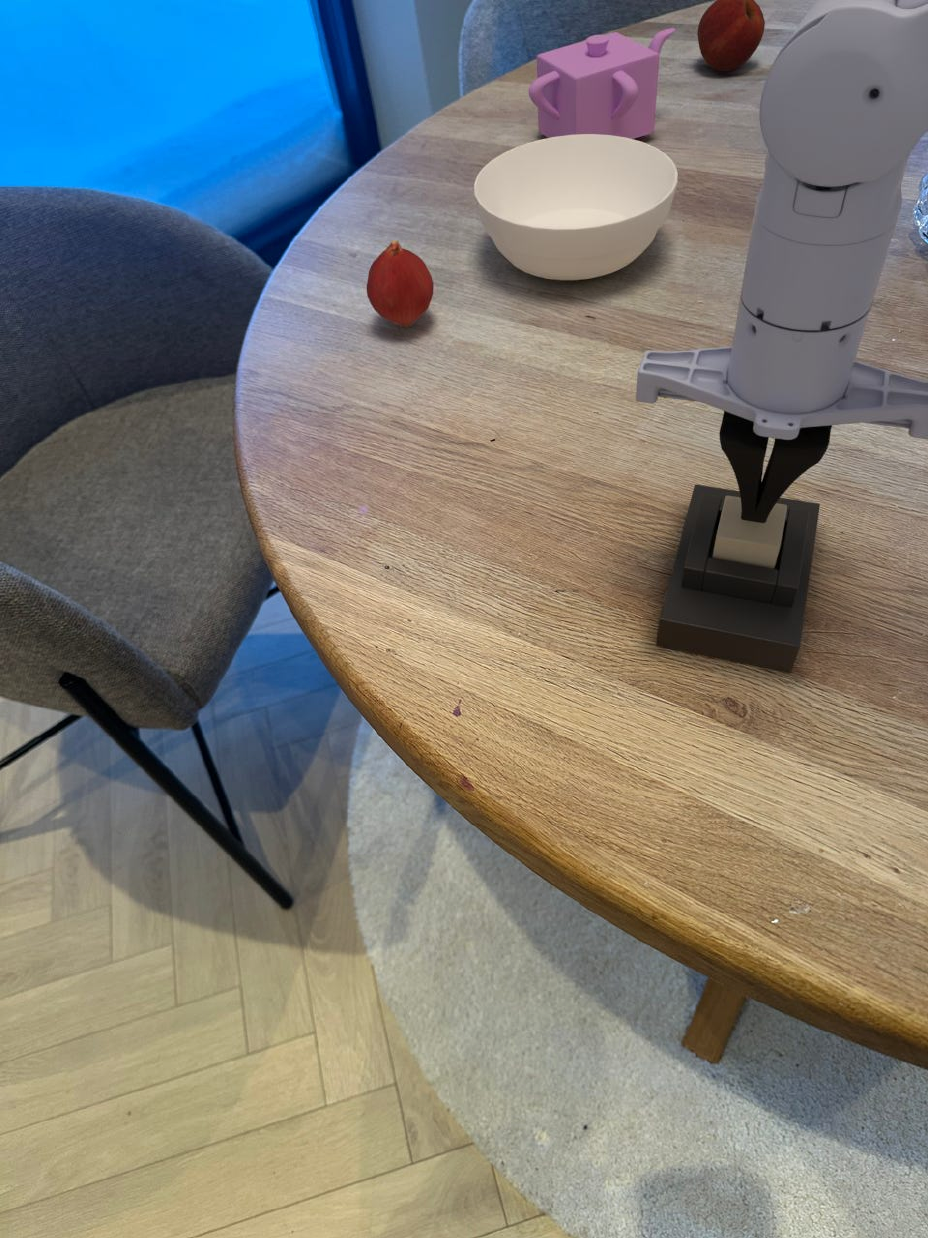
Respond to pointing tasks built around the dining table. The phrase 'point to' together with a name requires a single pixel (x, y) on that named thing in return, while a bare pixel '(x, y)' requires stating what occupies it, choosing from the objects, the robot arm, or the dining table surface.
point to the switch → (749, 536)
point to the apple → (730, 33)
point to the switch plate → (738, 590)
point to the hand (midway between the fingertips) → (755, 510)
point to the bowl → (575, 203)
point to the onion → (399, 285)
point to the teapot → (598, 87)
